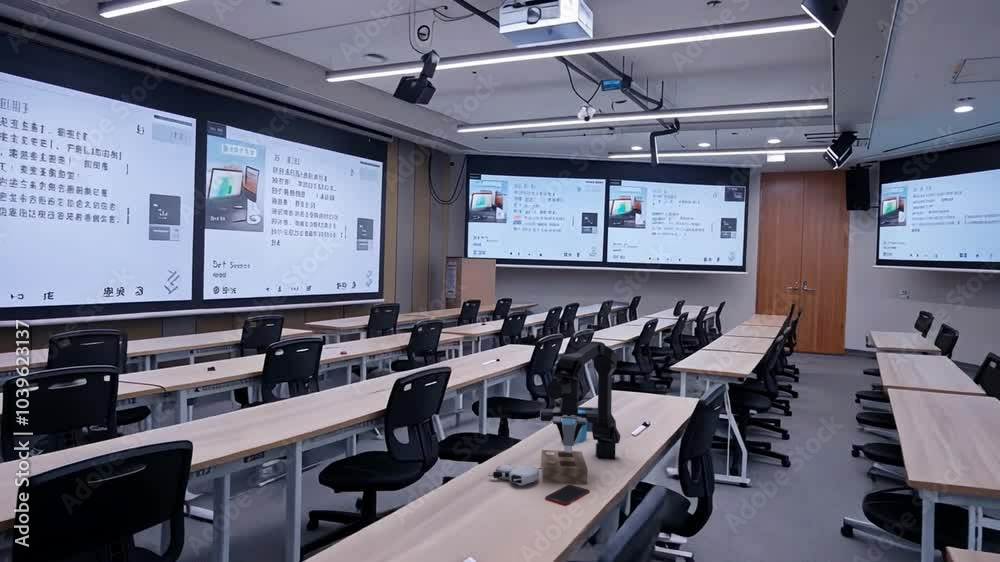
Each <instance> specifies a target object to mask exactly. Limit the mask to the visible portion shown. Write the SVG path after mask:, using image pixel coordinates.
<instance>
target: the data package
mask: <svg viewBox="0 0 1000 562" xmlns="http://www.w3.org/2000/svg"><path fill="white" fill-rule="evenodd" d="M578 413H585V411H583V410H578ZM564 416H567V415H564ZM571 416H573V415H571ZM561 421H562V427H563V424H565V425H574V429H575V419H569V418H561ZM585 422H586V425H583V426H582V428H581V429H580V431H579V433H578V436H577V438H576V440H575V442H574V445H575V444H580V443H582V442H584V441H586V439H587V419H586V420H585ZM561 443H562V444H563V442H562V441H561Z"/></svg>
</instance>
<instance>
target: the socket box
mask: <svg viewBox="0 0 1000 562" xmlns="http://www.w3.org/2000/svg"><path fill="white" fill-rule="evenodd" d="M540 459H541V468H542V467H543V469H541V473H542V483H543V484H544V483H545V484H546V483H547V484H565V485H566V484H567V485H588V466H587V463H586V459H585V457H584V453H583V452H582V451H578V450H572V452H571V451H564V450H556V449H555V450H554V449H552V450H550V449H542V450H541V458H540Z"/></svg>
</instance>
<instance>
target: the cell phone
mask: <svg viewBox="0 0 1000 562" xmlns="http://www.w3.org/2000/svg"><path fill="white" fill-rule="evenodd" d="M590 491H591V490H589V489H588V488H584V487H581V486H578V485H575V484H567V485H566V486H563V487H561V488H559V489H557V490H556V491H554V492H551V493H550V494H548V495H546V496H545V497H544V500H545V501H547V502H550V503H554V504H557V505H559V506H565V507H567V506H569V505H571V504H572V503H574V502H576V501H578V500H579V499H582V498H583V497H585V496H586V495H588V494H590Z"/></svg>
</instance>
